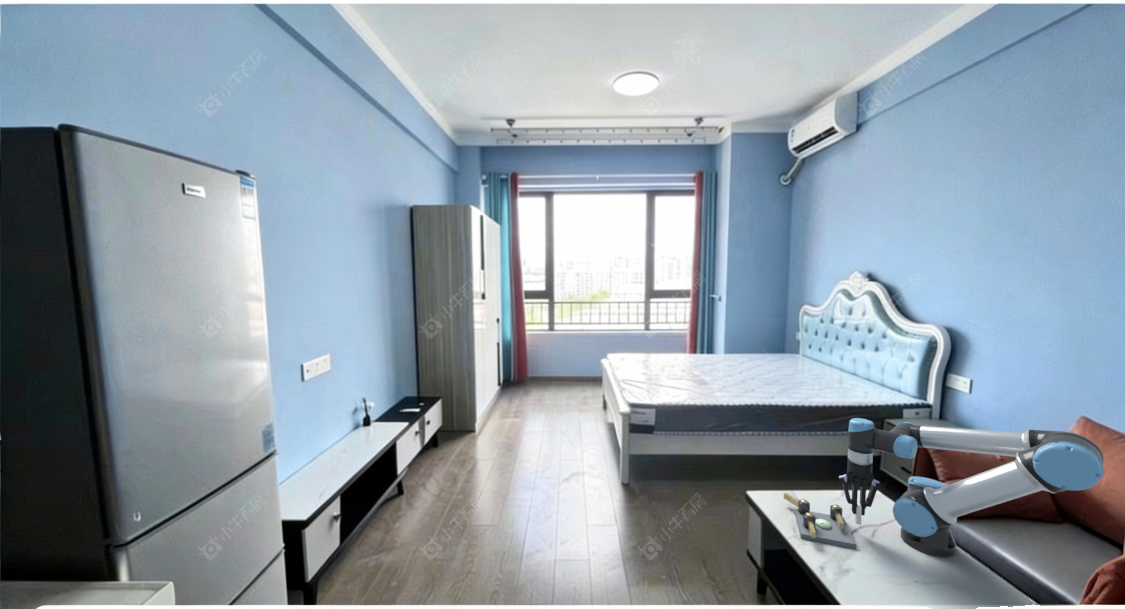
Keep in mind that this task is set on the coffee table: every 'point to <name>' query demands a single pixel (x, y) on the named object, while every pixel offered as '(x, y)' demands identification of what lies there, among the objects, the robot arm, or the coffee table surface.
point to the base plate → (826, 530)
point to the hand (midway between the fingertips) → (857, 522)
